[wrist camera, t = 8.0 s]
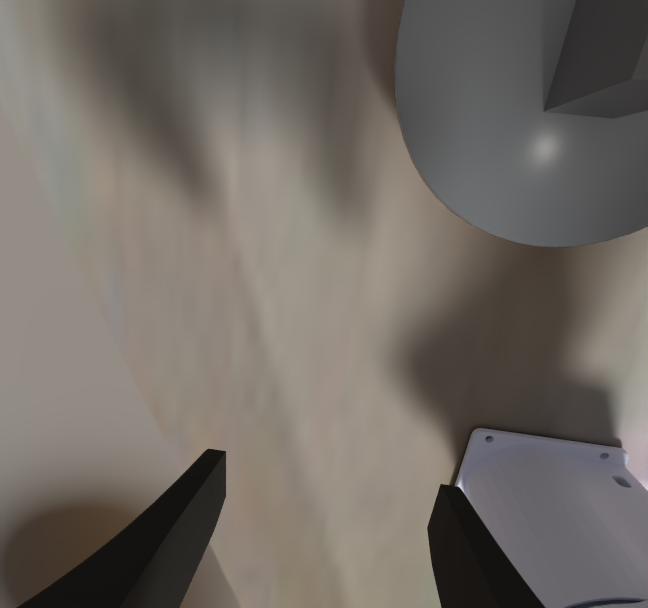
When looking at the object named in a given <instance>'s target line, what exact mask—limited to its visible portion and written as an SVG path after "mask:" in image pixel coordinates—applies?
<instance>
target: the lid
mask: <svg viewBox="0 0 648 608" xmlns="http://www.w3.org/2000/svg"><path fill="white" fill-rule="evenodd" d="M394 85H395V100H396V107H397V114H398V120H399V124H400V128H401V131H402V135H403V139H404V142H405V145H406V147H407V150H408V152H409V154H410V157H411V159H412V162H413V164H414V165H415V167H416V169H417V171H418V172H419V174H420V176H421V177H422V179H423V181H424V182H425V184H426V185H427V186H428V187H429V189H430V190H431V191H432V192H433V194H434V195H435V196H436V198H437V199H439V200H440V201H441V202H442V203H443V204H444V205H445V206H446V207H447V208H448V209H449V210H450V211H451V212H453V213H454V214H455V215H457V216H458V217H460V218H461V219H463V220H464V221H465V222H467V223H468V224H470V225H472V226H474V227H476V228H478V229H480V230H482V231H484V232H486V233H489V234H492V235H494V236H497V237H500V238H503V239H506V240H509V241H512V242H517V243H522V244H527V245H533V246H545V247H568V246H582V245H587V244H593V243H598V242H603V241H608V240H611V239H614V238H618V237H621V236H624V235H627V234H631V233H633V232H636V231H638V230H640V229H643V228H645V227H647V226H648V0H405V3H404V6H403V10H402V15H401V20H400V25H399V30H398V35H397V42H396V52H395V63H394Z"/></svg>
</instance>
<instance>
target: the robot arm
mask: <svg viewBox="0 0 648 608" xmlns="http://www.w3.org/2000/svg"><path fill="white" fill-rule="evenodd" d="M488 436H491V437H490V438H486V437H488ZM602 453H603V454H602ZM629 457H630V456H629V454H628V453H627V452H626V451H625V450H624V449H622V448H617V447H610V446H603V445H596V444H589V443H582V442H575V441H568V440H561V439H554V438H547V437H540V436H533V435H526V434H519V433H512V432H505V431H498V430H491V429H484V428H477V429H475V430H474V431H473V432H472V434H471V437H470V440H469V443H468V446H467V449H466V452H465V455H464V459H463V462H462V465H461V468H460V471H459V474H458V477H457V480H456V483H455V486H450V485H443V484H441V485H440V488H439V491H438V495H437V498H436V501H435V505H434V508H433V511H432V514H431V518H430V521H429V524H428V527H427V529H428V537H429V546H430V554H431V561H432V567H433V572H434V576H435V581H436V585H437V590H438V594H439V598H440V603H441V607H442V608H648V491H647V490H646V489H645V488H644V487H643V486H642V484H641V483H640V482H639V481H638V480H637V479H636V478H635V477H634V476H633V475H632V474H631V473H630V472H629V471H628V470H627V469H626V468H625V465H626V464H627V462H628V460H629ZM225 497H226V451H220V450H214V449H207V450H206V451H205V452H204V453H203V454H202V455H201V456H200V457H199V458H198V459H197V460H196V461H195V462H194V463H193V464H192V465H191V466H190V467H189V469H188V470H187V471H186V472H185V473H184V474H183V475H182V476H181V477H180V478H179V479H178V480H177V481H176V482H175V483H174V484H173V485H172V486H171V487H170V488H168V489H167V490H166V491H165V492H164V493H163V494H162V495H161V496H160V497H159V498H158V499H157V500H156V501H155V502H154V503H153V504H152V505H151V506H150V507H148V508H147V509H146V510H145V511H144V512H143V513H142V514H140V515H139V516H138V517H137V518H136V519H135V520H134V521H133V522H132V523H130V524H129V525H128V526H127V527H126V528H125V529H123V530H122V531H121V532H120V533H118V534H117V535H116V536H115V537H114V538H112V539H111V540H110V541H109V542H107V543H106V544H105V545H104V546H102V547H101V548H100V549H99V550H97V551H96V552H95V553H94V554H92V555H91V556H90V557H88V558H87V559H86V560H84V561H83V562H82V563H80V564H79V565H78V566H76V567H75V568H73V569H72V570H71V571H69V572H68V573H67V574H65V575H64V576H62V577H61V578H60V579H59V580H57V581H56V582H54V583H53V584H51V585H50V586H48V587H47V588H45V589H44V590H43V591H41V592H40V593H38V594H37V595H35V596H34V597H32V598H31V599H29V600H28V601H26V602H24V603H23V604H21V605H20V606H18V607H17V608H179V607H180V605H181V603H182V601H183V598H184V596H185V594H186V592H187V589H188V587H189V585H190V583H191V581H192V578H193V576H194V574H195V572H196V570H197V567H198V565H199V563H200V561H201V559H202V556H203V554H204V552H205V550H206V547H207V545H208V543H209V541H210V539H211V536H212V534H213V532H214V529H215V527H216V524H217V521H218V518H219V515H220V512H221V509H222V506H223V503H224V500H225Z"/></svg>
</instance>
